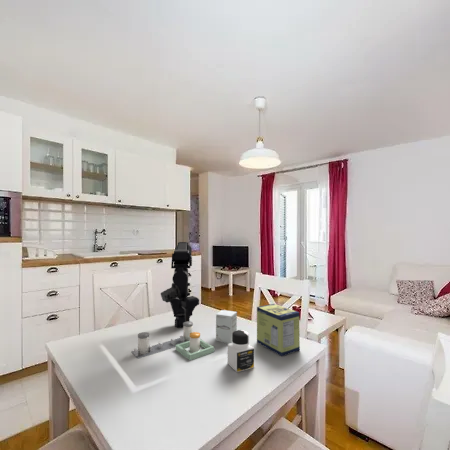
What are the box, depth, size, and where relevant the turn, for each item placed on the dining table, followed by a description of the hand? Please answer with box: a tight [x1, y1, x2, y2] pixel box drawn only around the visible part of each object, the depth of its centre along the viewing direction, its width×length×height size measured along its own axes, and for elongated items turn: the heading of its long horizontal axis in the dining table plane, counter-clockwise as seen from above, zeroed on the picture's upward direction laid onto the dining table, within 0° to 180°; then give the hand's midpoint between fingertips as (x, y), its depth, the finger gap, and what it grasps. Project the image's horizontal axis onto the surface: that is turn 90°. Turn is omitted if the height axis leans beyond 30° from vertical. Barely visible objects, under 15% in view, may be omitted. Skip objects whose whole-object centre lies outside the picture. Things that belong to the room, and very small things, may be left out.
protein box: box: [256, 303, 301, 357], centre depth 109 cm, size 10×16×16 cm
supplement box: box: [215, 309, 238, 346], centre depth 114 cm, size 7×7×13 cm
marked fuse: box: [188, 331, 201, 353], centre depth 102 cm, size 4×4×7 cm
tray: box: [175, 338, 215, 361], centre depth 102 cm, size 11×11×3 cm
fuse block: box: [131, 321, 194, 359], centre depth 106 cm, size 27×7×8 cm, turn 129°
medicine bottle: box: [227, 329, 255, 373], centre depth 93 cm, size 7×7×12 cm
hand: (180, 318), depth 108 cm, fingers open, 9 cm apart
